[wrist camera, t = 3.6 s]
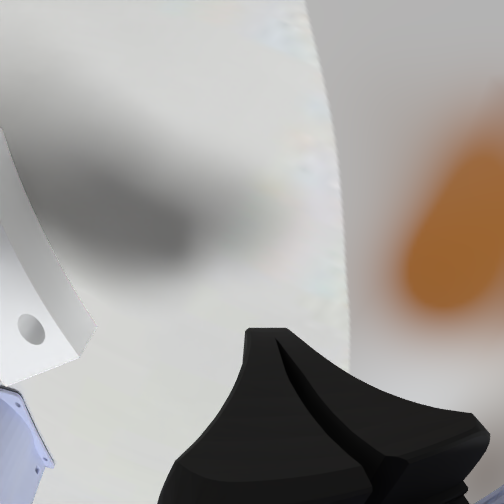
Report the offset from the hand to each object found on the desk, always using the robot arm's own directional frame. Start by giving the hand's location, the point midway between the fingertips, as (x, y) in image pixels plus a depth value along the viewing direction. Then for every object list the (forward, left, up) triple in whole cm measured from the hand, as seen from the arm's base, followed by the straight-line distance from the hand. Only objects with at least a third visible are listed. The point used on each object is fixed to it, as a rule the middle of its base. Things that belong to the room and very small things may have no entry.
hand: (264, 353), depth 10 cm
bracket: (+1, +14, -7) cm, 16 cm away
